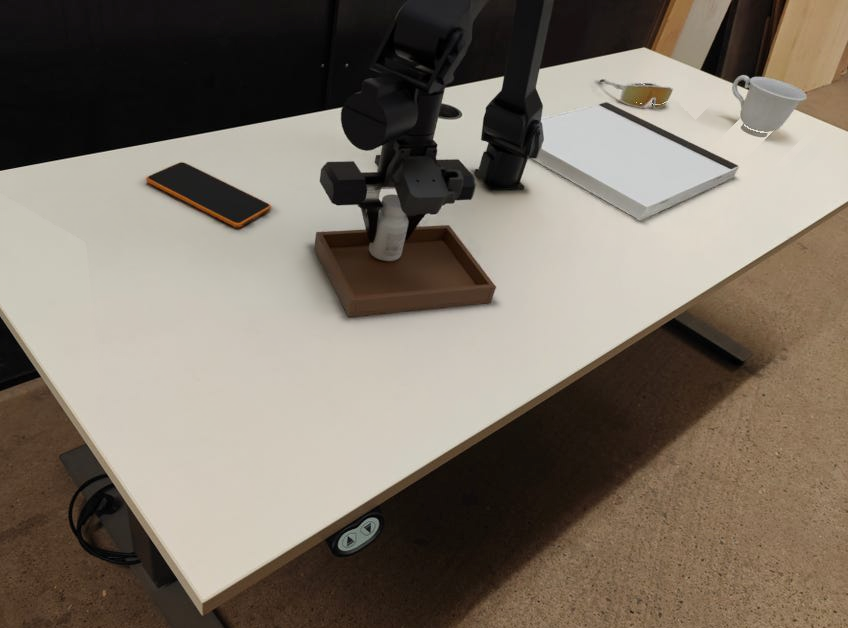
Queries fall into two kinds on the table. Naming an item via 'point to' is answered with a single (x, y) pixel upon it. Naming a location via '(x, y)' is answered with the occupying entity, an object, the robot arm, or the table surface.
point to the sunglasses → (642, 94)
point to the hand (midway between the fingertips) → (387, 240)
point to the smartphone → (209, 194)
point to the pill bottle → (389, 230)
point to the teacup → (766, 103)
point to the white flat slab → (628, 159)
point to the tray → (403, 272)
